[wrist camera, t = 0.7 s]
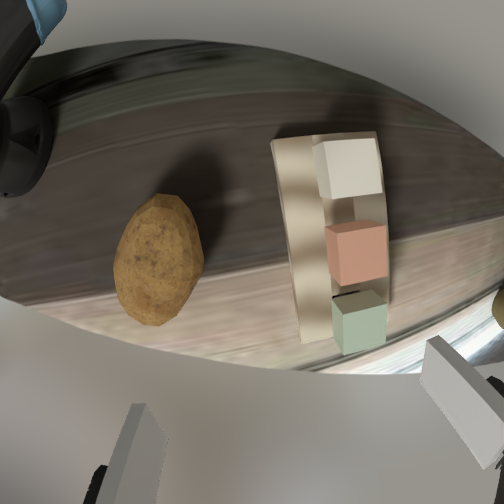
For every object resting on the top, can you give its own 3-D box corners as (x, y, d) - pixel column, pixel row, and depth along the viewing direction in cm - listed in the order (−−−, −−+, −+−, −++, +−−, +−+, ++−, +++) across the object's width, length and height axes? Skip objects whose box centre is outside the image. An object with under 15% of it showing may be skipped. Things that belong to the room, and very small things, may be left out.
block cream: (306, 149, 28) (323, 141, 22) (350, 145, 28) (374, 138, 22) (314, 195, 29) (332, 199, 23) (356, 189, 29) (382, 192, 23)
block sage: (325, 291, 32) (342, 314, 26) (364, 282, 31) (387, 303, 25) (328, 327, 33) (343, 355, 27) (364, 318, 33) (385, 343, 27)
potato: (223, 203, 31) (216, 210, 23) (193, 312, 34) (181, 347, 26) (144, 181, 30) (114, 182, 22) (122, 290, 33) (95, 317, 25)
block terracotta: (318, 223, 30) (336, 233, 24) (360, 216, 30) (385, 225, 24) (323, 266, 31) (341, 286, 25) (363, 258, 31) (387, 275, 25)
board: (270, 143, 29) (272, 139, 27) (367, 134, 29) (375, 131, 27) (298, 334, 35) (301, 343, 33) (380, 314, 35) (388, 322, 33)
